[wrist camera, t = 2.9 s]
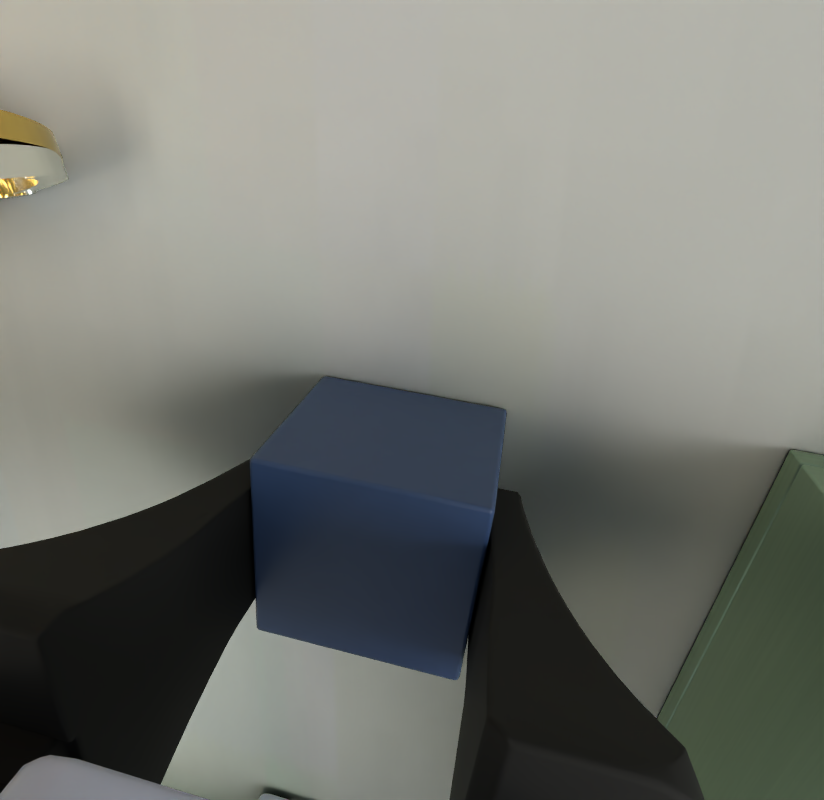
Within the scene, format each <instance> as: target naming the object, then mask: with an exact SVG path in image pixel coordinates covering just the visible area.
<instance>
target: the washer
mask: <svg viewBox="0 0 824 800" xmlns="http://www.w3.org/2000/svg"><path fill="white" fill-rule="evenodd" d="M657 720H658V721H659V722H660V723H661V724H662V725H663V726H664V727H665V728H666V729H667V730H668V731H669V732H670V733H671V734H672V735H673V736H674V737H675V738H676V739H677V740H678V741H679V742H680V743H681V744H682V745H683V746H684V747H685V748H686V750H687V753H688V755H689V758H690V761H691V763H692V766H693V769H694V771H695V774H696V777H697V780H698V782H699V785H700V788H701V791H702V793H703V796H704V800H824V455H818V454H813V453H808V452H802V451H797V450H790V452H789V454H788V456H787V458H786V460H785V462H784V464H783V466H782V468H781V470H780V472H779V474H778V476H777V478H776V480H775V482H774V484H773V486H772V488H771V490H770V492H769V494H768V496H767V498H766V500H765V502H764V504H763V506H762V508H761V510H760V512H759V514H758V516H757V518H756V520H755V522H754V524H753V526H752V528H751V530H750V532H749V534H748V537H747V539H746V541H745V543H744V545H743V547H742V549H741V551H740V553H739V555H738V557H737V559H736V561H735V563H734V565H733V567H732V569H731V571H730V573H729V575H728V577H727V579H726V581H725V583H724V585H723V587H722V589H721V591H720V593H719V595H718V597H717V599H716V601H715V603H714V605H713V607H712V609H711V611H710V613H709V615H708V617H707V619H706V621H705V623H704V625H703V627H702V629H701V631H700V633H699V635H698V637H697V639H696V641H695V644H694V646H693V648H692V650H691V652H690V654H689V656H688V658H687V660H686V662H685V664H684V666H683V668H682V670H681V672H680V674H679V676H678V678H677V680H676V682H675V684H674V686H673V688H672V690H671V692H670V694H669V696H668V698H667V700H666V702H665V704H664V706H663V708H662V710H661V712H660V714H659V716H658V718H657Z"/></svg>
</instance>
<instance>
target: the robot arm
mask: <svg viewBox="0 0 824 800" xmlns="http://www.w3.org/2000/svg"><path fill="white" fill-rule="evenodd" d="M255 598H256V596H255V573H254V550H253V527H252V504H251V481H250V459H249V460H247V461H245V462H244V463H242V464H240V465H238V466H236V467H234V468H233V469H231V470H229V471H227V472H225V473H223V474H221V475H220V476H218V477H216V478H214V479H212V480H210V481H208V482H206V483H204V484H202V485H199V486H197V487H195V488H193V489H191V490H189V491H187V492H185V493H183V494H181V495H179V496H177V497H174V498H172V499H170V500H167V501H165V502H163V503H160V504H158V505H155V506H153V507H150V508H148V509H145V510H142V511H140V512H137V513H134V514H132V515H129V516H126V517H123V518H120V519H117V520H114V521H110V522H107V523H104V524H101V525H97V526H94V527H91V528H88V529H85V530H81V531H78V532H74V533H70V534H66V535H62V536H58V537H54V538H50V539H46V540H41V541H37V542H33V543H28V544H23V545H18V546H13V547H8V548H2V549H0V800H208V799H205V798H202V797H199V796H195V795H192V794H189V793H186V792H183V791H179V790H176V789H173V788H170V787H166V786H163V785H160V784H161V782H162V780H163V777H164V775H165V773H166V770H167V768H168V766H169V764H170V762H171V759H172V757H173V755H174V753H175V751H176V748H177V746H178V744H179V742H180V740H181V737H182V735H183V733H184V731H185V729H186V726H187V724H188V722H189V720H190V718H191V716H192V714H193V712H194V709H195V707H196V705H197V703H198V701H199V699H200V697H201V695H202V693H203V691H204V689H205V687H206V685H207V683H208V680H209V678H210V676H211V675H212V673H213V671H214V669H215V667H216V665H217V663H218V661H219V659H220V657H221V655H222V653H223V651H224V649H225V647H226V645H227V643H228V641H229V639H230V638H231V636H232V634H233V633H234V631H235V629H236V627H237V626H238V624H239V622H240V621H241V619H242V618H243V616H244V615H245V613H246V612H247V610H248V609H249V607H250V605H251V604H252V602H253V601H254V599H255ZM259 800H289V799H286V798H282V797H279V796H276V795H272V794H268V793H266V794H262V795H261V796H260V797H259ZM450 800H704V796H703V793H702V791H701V788H700V785H699V782H698V780H697V777H696V774H695V771H694V769H693V766H692V763H691V761H690V758H689V755H688V753H687V750H686V748H685V747H684V746H683V745H682V744H681V743H680V742H679V741H678V740H677V739H676V738H675V737H674V736H673V735H672V734H671V733H670V732H669V731H668V730H667V729H666V728H665V727H664V726H663V725H662V724H661V723H660V722H659V721H658V720H657V719H656V718H655V717H654V716H653V715H652V714H651V713H650V712H649V711H648V710H647V709H646V708H645V707H644V706H643V705H642V704H641V703H640V702H639V701H638V699H637V698H636V697H635V696H634V695H633V694H632V693H631V692H630V690H629V689H628V688H627V687H626V686H625V685H624V684H623V682H622V681H621V680H620V679H619V678H618V677H617V676H616V674H615V673H614V672H613V670H612V669H611V668H610V667H609V665H608V664H607V663H606V661H605V660H604V659H603V658H602V656H601V655H600V654H599V653H598V651H597V650H596V649H595V647H594V646H593V645H592V643H591V642H590V641H589V639H588V638H587V636H586V635H585V633H584V632H583V630H582V629H581V627H580V626H579V624H578V623H577V621H576V620H575V618H574V616H573V615H572V613H571V612H570V610H569V609H568V607H567V605H566V603H565V602H564V600H563V598H562V597H561V595H560V593H559V591H558V589H557V587H556V586H555V584H554V582H553V580H552V578H551V576H550V574H549V572H548V570H547V568H546V566H545V563H544V561H543V559H542V557H541V554H540V552H539V550H538V547H537V545H536V543H535V540H534V538H533V535H532V533H531V530H530V527H529V524H528V521H527V518H526V515H525V512H524V508H523V504H522V500H521V497H520V495H519V494H518V492H514V491H509V490H504V489H500V488H498V490H497V498H496V506H495V513H494V518H493V523H492V527H491V532H490V537H489V541H488V546H487V551H486V555H485V560H484V565H483V569H482V574H481V579H480V583H479V588H478V593H477V597H476V602H475V607H474V611H473V616H472V621H471V625H470V630H469V636H468V654H467V673H466V688H465V698H464V707H463V713H462V720H461V727H460V734H459V741H458V748H457V754H456V761H455V768H454V774H453V781H452V788H451V794H450Z"/></svg>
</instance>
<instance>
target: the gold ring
mask: <svg viewBox="0 0 824 800" xmlns="http://www.w3.org/2000/svg"><path fill="white" fill-rule="evenodd" d="M68 179H69V178H68V175H67V172H66V170H65V167H64V164H63V161H62V155H61V152H60V150H59V147H58V144H57V142H56V139H55V137H54V134H53V132H52V131H51V130H50V129H49V128H47V127H46V126H44V125H42V124H40V123H38V122H36V121H34V120H31V119H28V118H26V117H23V116H20V115H17V114H14V113H10V112H7V111H3V110H0V199H5V198H6V199H8V198H14V197H20V196H26V195H31V194H35V193H36V191H37V190H41V189H44V188H48V187H51V186H55V185H58V184H61V183H63V182H65V181H67V180H68Z"/></svg>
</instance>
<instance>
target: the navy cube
mask: <svg viewBox="0 0 824 800" xmlns="http://www.w3.org/2000/svg"><path fill="white" fill-rule="evenodd" d="M506 415H507V413H506V410H504V409H500V408H495V407H489V406H484V405H478V404H473V403H468V402H462V401H457V400H451V399H446V398H441V397H435V396H430V395H425V394H419V393H414V392H408V391H403V390H398V389H392V388H387V387H381V386H376V385H371V384H365V383H360V382H355V381H349V380H344V379H338V378H333V377H328V376H324V377H322V378H321V380H320V381H319V382H318V383H317V384H316V385H315V386H314V387H313V389H312V390H311V391H310V392H309V393H308V394H307V395H306V397H305V398H304V399H303V400H302V401H301V402H300V403H299V404H298V406H297V407H296V408H295V409H294V410H293V411H292V412H291V413H290V415H289V416H288V417H287V418H286V419H285V420H284V421H283V422H282V424H281V425H280V426H279V427H278V428H277V429H276V430H275V431H274V433H273V434H272V435H271V436H270V437H269V438H268V439H267V440H266V442H265V443H264V444H263V445H262V446H261V447H260V448H259V449H258V451H257V452H256V453H255V454H254V455H253V456H252V457H251V459H250V481H251V504H252V527H253V550H254V573H255V596H256V620H257V628H258V629H259V630H262V631H266V632H270V633H274V634H278V635H281V636H285V637H289V638H293V639H297V640H301V641H305V642H309V643H312V644H316V645H320V646H324V647H328V648H332V649H336V650H339V651H343V652H347V653H351V654H355V655H359V656H363V657H367V658H370V659H374V660H378V661H382V662H386V663H390V664H394V665H397V666H401V667H405V668H409V669H413V670H417V671H421V672H425V673H428V674H432V675H436V676H440V677H444V678H448V679H452V680H457V679H458V678H459V677H460V672H461V667H462V663H463V658H464V653H465V649H466V644H467V639H468V635H469V630H470V625H471V621H472V616H473V611H474V607H475V602H476V597H477V593H478V588H479V583H480V579H481V574H482V569H483V565H484V560H485V555H486V551H487V546H488V541H489V537H490V532H491V527H492V523H493V518H494V513H495V506H496V498H497V490H498V481H499V473H500V465H501V457H502V448H503V440H504V432H505V424H506Z"/></svg>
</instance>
